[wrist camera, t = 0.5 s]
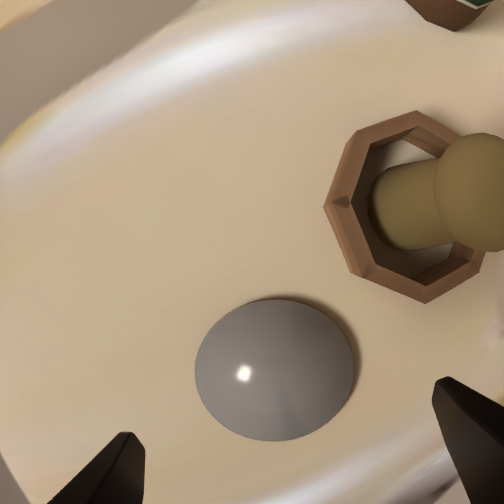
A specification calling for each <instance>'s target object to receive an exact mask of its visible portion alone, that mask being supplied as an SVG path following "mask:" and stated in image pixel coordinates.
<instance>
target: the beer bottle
mask: <svg viewBox="0 0 504 504" xmlns="http://www.w3.org/2000/svg"><path fill="white" fill-rule="evenodd" d="M405 1H406V2H408V3H409V4H410V5H411V6H412V7H413V8H414V9H415V10H416V11H417V12H418V13H419V14H420V15H421V16H422V17H423V18H424V19H425V20H426V21H428V22H431V23H433V24H436V25H439V26H441V27H443V28H446V29H448V30H451V31H456V30H458V29H460V28H462V27H464V26H466V25H468V24H470V23H471V22H472V21H473V20H475V19H476V18H477V17H478V16H479V15H480V14H481V13H482V12H483V11H484V10H485V9H486V7H487V6H488V5H489V4H490V3H491V2H492V1H493V0H405Z"/></svg>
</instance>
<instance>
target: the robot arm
mask: <svg viewBox="0 0 504 504" xmlns="http://www.w3.org/2000/svg"><path fill="white" fill-rule="evenodd" d="M432 405H433V408H434V411H435V414H436V417H437V420H438V423H439V426H440V429H441V432H442V435H443V438H444V441H445V444H446V447H447V449H448V451H449V453H450V456H451V458H452V460H453V462H454V465H455V467H456V469H457V471H458V474H459V476H460V478H461V481H462V483H463V485H464V488H465V490H466V493H467V495H468V497H469V500H470V502H471V504H504V407H503V406H502V405H500V404H498V403H496V402H494V401H493V400H491V399H489V398H487V397H485V396H484V395H482V394H480V393H478V392H477V391H475V390H473V389H471V388H469V387H468V386H466V385H464V384H462V383H460V382H459V381H457V380H455V379H453V378H452V377H449V376H447V377H444V378H441V379H439V380H437V381H436V383H435V387H434V391H433V395H432ZM144 474H145V449H144V446H143V445H142V444H141V442H140V441H139V439H138V438H137V437H136V435H135V434H134V433H133V432H120V433H118V434H117V435H116V436H115V437H114V438H113V439H112V440H111V441H110V442H109V443H108V444H107V445H106V446H105V447H104V448H103V449H102V450H101V451H100V452H99V453H98V454H97V455H96V456H95V457H94V458H93V459H92V460H91V461H90V462H89V463H88V464H87V465H86V466H85V467H84V468H83V469H82V470H81V471H80V472H79V473H78V474H77V475H76V476H75V477H74V478H73V479H72V480H71V481H70V482H69V483H68V484H67V485H66V486H65V487H64V488H63V489H62V490H61V491H60V492H59V493H58V494H56V495H55V496H54V497H53V498H52V500H50V501H49V502H48V503H47V504H142V502H143V495H144Z"/></svg>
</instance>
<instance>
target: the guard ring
mask: <svg viewBox="0 0 504 504" xmlns="http://www.w3.org/2000/svg"><path fill="white" fill-rule="evenodd" d="M460 138H461V136H460V135H458V134H456V133H455V132H453V131H452V130H450V129H448V128H447V127H445V126H443V125H442V124H440V123H438V122H436V121H435V120H433V119H431V118H429V117H428V116H426V115H424V114H422V113H420V112H419V111H417V110H416V111H413V112H410V113H407V114H404V115H401V116H398V117H395V118H392V119H389V120H386V121H383V122H380V123H377V124H375V125H372V126H369V127H366V128H363V129H361V130H358V131H356V132H355V133H354V135H353V136H352V137H351V138H350V140H349V141H348V142H347V143H346V144H345V148H344V151H343V154H342V157H341V160H340V162H339V165H338V168H337V171H336V174H335V176H334V179H333V182H332V185H331V187H330V190H329V193H328V196H327V198H326V201H325V204H324V206H323V207H324V210H325V212H326V214H327V217H328V219H329V221H330V224H331V226H332V228H333V231H334V233H335V235H336V238H337V240H338V243H339V245H340V248H341V250H342V253H343V255H344V257H345V260H346V262H347V265H348V268H349V270H350V273H353V274H355V275H357V276H359V277H361V278H364V279H367V280H369V281H372V282H374V283H377V284H379V285H381V286H384V287H386V288H389V289H391V290H394V291H396V292H398V293H401V294H403V295H406V296H408V297H410V298H413V299H415V300H417V301H420V302H422V303H424V304H426V303H428V302H430V301H432V300H433V299H435V298H437V297H439V296H440V295H442V294H444V293H446V292H447V291H449V290H451V289H452V288H454V287H456V286H458V285H459V284H461V283H462V282H464V281H466V280H467V279H469V278H471V277H472V276H474V275H475V274H477V273H479V271H480V267H481V264H482V261H483V258H484V255H485V252H482V251H476V250H473V249H471V248H469V247H467V246H465V245H463V244H461V243H460V242H454V244H453V247H452V250H451V253H450V256H449V258H448V259H446V260H444V261H443V262H441V263H439V264H437V265H435V266H434V267H432V268H430V269H428V270H426V271H424V272H422V273H421V274H419V275H417V276H415V277H413V278H411V279H409V278H406V277H404V276H402V275H399V274H397V273H395V272H393V271H390V270H388V269H386V268H383V267H381V266H379V265H376V264H375V262H374V259H373V257H372V254H371V251H370V249H369V246H368V244H367V241H366V239H365V236H364V234H363V231H362V229H361V226H360V224H359V222H358V219H357V217H356V214H355V212H354V210H353V207H352V205H351V203H350V202H351V199H352V196H353V193H354V190H355V188H356V185H357V182H358V179H359V176H360V173H361V170H362V167H363V164H364V161H365V158H366V155H367V152H368V151H370V150H373V149H376V148H378V147H381V146H384V145H386V144H389V143H391V142H394V141H397V140H400V139H404V140H406V141H407V142H409V143H411V144H413V145H415V146H417V147H419V148H421V149H423V150H424V151H426V152H428V153H430V154H432V155H433V156H435V157H437V158H441V157H442V155H443V153H444V152H445V150H446V149H447V148H448V147H449V146H450V145H452V144H453V143H454V142H455V141H457V140H458V139H460Z"/></svg>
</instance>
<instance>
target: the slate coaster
mask: <svg viewBox="0 0 504 504" xmlns="http://www.w3.org/2000/svg"><path fill="white" fill-rule="evenodd" d="M353 378H354V362H353V355H352V352H351V349H350V346H349V344H348V342H347V340H346V338H345V336H344V335H343V333H342V332H341V330H340V329H339V328H338V327H337V325H336V324H335V323H334V322H333V321H332V320H331V319H330V318H328V317H327V316H326V315H325V314H323V313H322V312H320V311H319V310H317V309H315V308H313V307H311V306H309V305H306V304H303V303H300V302H297V301H291V300H286V299H267V300H260V301H255V302H251V303H248V304H245V305H242V306H240V307H238V308H236V309H234V310H232V311H231V312H229V313H228V314H226V315H225V316H224V317H222V318H221V319H220V320H219V321H218V322H217V323H216V324H215V325H214V326H213V327H212V328H211V329H210V331H209V332H208V334H207V335H206V337H205V338H204V340H203V342H202V344H201V346H200V348H199V351H198V354H197V358H196V363H195V380H196V386H197V390H198V393H199V396H200V398H201V400H202V402H203V404H204V405H205V407H206V408H207V410H208V411H209V412H210V414H211V415H212V416H213V417H214V418H215V419H216V420H217V421H218V422H219V423H221V424H222V425H223V426H225V427H226V428H228V429H229V430H231V431H233V432H235V433H237V434H239V435H242V436H244V437H247V438H251V439H255V440H261V441H286V440H292V439H296V438H299V437H303V436H305V435H307V434H310V433H312V432H314V431H316V430H317V429H319V428H321V427H322V426H324V425H325V424H326V423H328V422H329V421H330V420H331V419H332V418H333V417H334V416H335V415H336V414H337V413H338V412H339V410H340V409H341V408H342V406H343V405H344V403H345V402H346V400H347V397H348V395H349V393H350V390H351V387H352V384H353Z"/></svg>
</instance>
